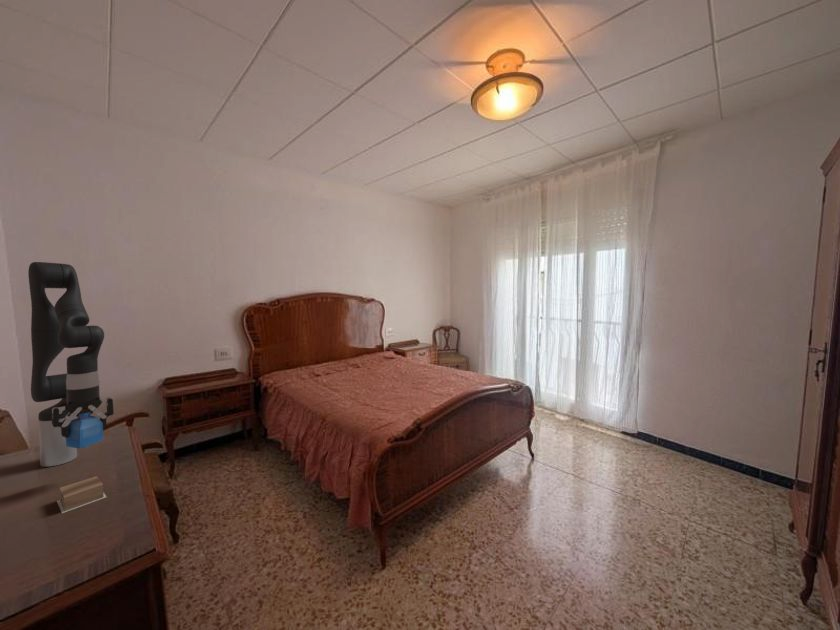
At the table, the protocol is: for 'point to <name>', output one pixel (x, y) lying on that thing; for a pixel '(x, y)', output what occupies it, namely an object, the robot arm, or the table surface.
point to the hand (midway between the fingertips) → (84, 432)
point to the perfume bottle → (84, 430)
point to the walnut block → (81, 493)
